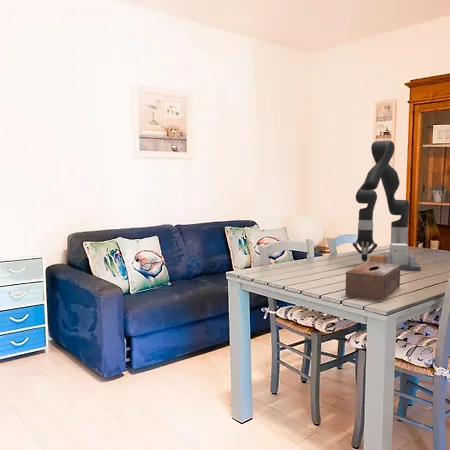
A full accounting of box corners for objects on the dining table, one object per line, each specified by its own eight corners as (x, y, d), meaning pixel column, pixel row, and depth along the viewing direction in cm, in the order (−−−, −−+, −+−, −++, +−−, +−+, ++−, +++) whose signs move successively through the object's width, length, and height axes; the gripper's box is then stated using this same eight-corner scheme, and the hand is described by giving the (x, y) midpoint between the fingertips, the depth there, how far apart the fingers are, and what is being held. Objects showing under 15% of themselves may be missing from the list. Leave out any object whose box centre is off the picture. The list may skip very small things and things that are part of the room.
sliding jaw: (368, 260, 244) (368, 251, 244) (388, 261, 242) (389, 252, 241) (369, 265, 233) (370, 255, 232) (391, 265, 230) (391, 256, 230)
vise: (364, 264, 245) (365, 251, 244) (416, 266, 238) (417, 253, 238) (366, 269, 233) (366, 255, 233) (420, 271, 227) (421, 257, 226)
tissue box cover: (382, 302, 173) (383, 276, 172) (345, 296, 181) (345, 271, 180) (399, 288, 194) (400, 265, 193) (365, 284, 202) (366, 261, 201)
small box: (405, 263, 237) (406, 243, 236) (407, 265, 231) (408, 245, 230) (389, 263, 238) (390, 243, 237) (391, 265, 233) (392, 244, 231)
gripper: (352, 228, 235) (351, 262, 237) (379, 229, 232) (378, 263, 234) (352, 227, 243) (351, 259, 244) (378, 228, 239) (377, 260, 241)
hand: (364, 261), depth 239 cm, fingers closed
